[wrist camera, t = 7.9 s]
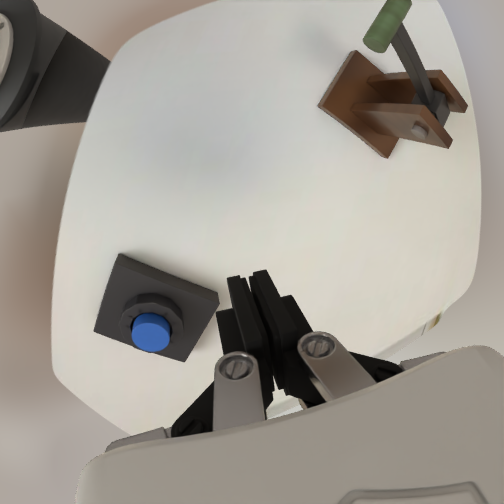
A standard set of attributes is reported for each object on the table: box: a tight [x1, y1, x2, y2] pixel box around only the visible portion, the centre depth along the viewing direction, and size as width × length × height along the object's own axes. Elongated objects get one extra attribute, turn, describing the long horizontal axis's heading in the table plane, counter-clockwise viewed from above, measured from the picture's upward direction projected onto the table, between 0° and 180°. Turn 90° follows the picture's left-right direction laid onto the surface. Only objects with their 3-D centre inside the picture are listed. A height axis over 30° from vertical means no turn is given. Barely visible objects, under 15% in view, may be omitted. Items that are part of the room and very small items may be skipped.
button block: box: [94, 254, 220, 362], centre depth 31 cm, size 12×10×4 cm
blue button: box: [132, 313, 170, 352], centre depth 29 cm, size 4×4×2 cm
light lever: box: [363, 0, 450, 127], centre depth 15 cm, size 12×5×2 cm, turn 61°
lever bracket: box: [318, 50, 468, 159], centre depth 22 cm, size 10×8×12 cm
